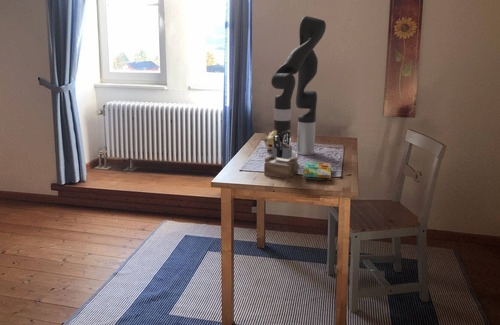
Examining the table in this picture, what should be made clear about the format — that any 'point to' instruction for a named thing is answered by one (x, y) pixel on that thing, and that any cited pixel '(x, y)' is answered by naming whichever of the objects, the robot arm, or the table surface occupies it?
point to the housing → (283, 152)
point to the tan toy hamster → (270, 140)
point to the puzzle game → (317, 171)
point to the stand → (280, 167)
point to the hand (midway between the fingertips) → (281, 155)
